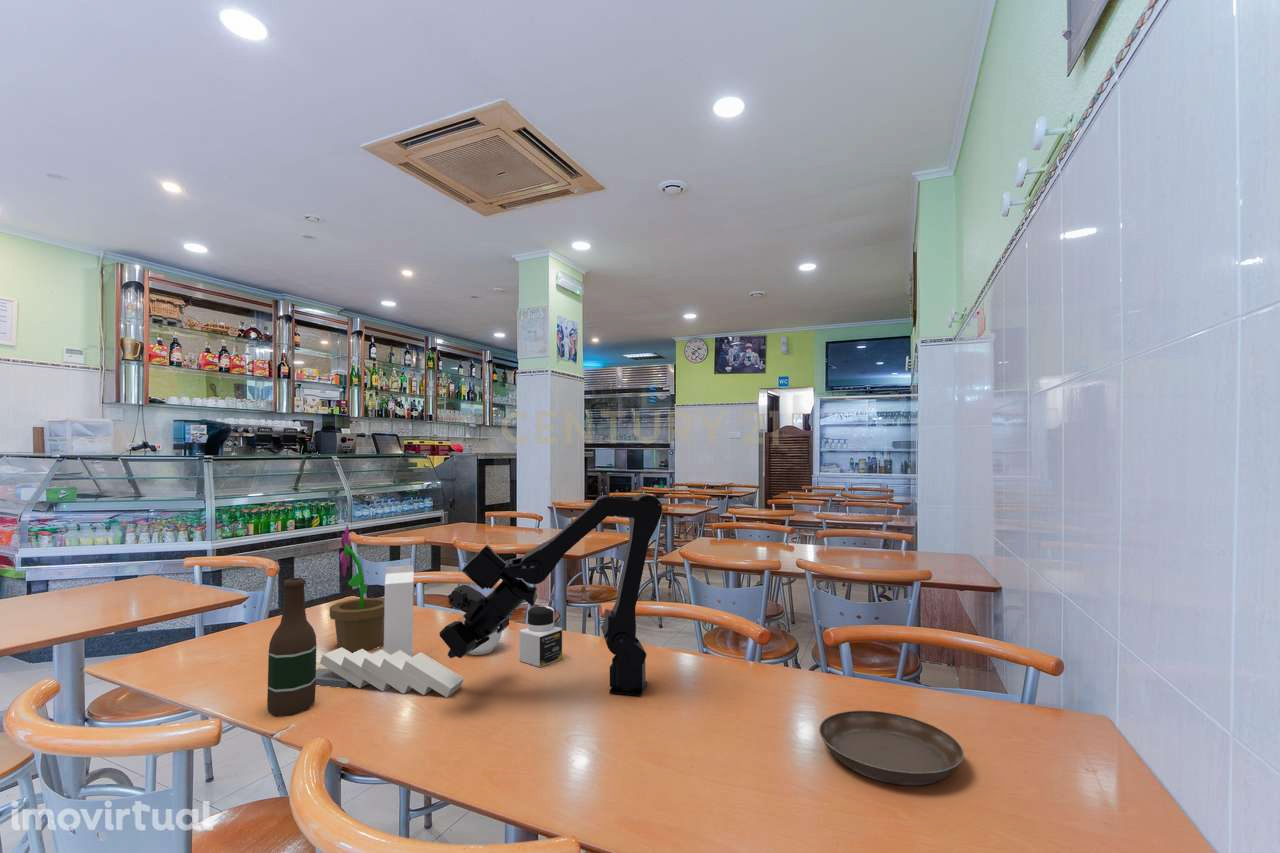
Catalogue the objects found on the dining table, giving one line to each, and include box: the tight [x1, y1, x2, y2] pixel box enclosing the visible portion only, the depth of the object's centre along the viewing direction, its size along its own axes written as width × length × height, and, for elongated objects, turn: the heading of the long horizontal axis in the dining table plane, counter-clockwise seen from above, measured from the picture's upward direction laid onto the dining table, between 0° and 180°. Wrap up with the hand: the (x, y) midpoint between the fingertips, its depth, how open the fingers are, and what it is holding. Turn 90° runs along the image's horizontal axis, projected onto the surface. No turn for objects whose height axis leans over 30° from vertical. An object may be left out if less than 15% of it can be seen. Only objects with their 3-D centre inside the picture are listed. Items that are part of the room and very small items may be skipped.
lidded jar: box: [457, 615, 503, 656], centre depth 141 cm, size 11×11×9 cm
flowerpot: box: [329, 524, 385, 652], centre depth 146 cm, size 14×14×30 cm
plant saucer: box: [818, 710, 965, 786], centre depth 91 cm, size 21×21×3 cm
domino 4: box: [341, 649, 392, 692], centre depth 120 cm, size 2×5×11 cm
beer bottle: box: [266, 577, 317, 717], centre depth 110 cm, size 8×8×24 cm
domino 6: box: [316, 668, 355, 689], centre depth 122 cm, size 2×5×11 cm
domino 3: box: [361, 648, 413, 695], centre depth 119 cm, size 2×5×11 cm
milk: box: [383, 565, 415, 657], centre depth 133 cm, size 6×6×22 cm
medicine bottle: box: [518, 605, 563, 668], centre depth 135 cm, size 7×7×12 cm
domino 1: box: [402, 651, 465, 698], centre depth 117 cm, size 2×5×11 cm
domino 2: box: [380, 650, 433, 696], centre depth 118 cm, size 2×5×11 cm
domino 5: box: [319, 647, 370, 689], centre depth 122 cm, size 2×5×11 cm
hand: (449, 656), depth 117 cm, fingers closed
